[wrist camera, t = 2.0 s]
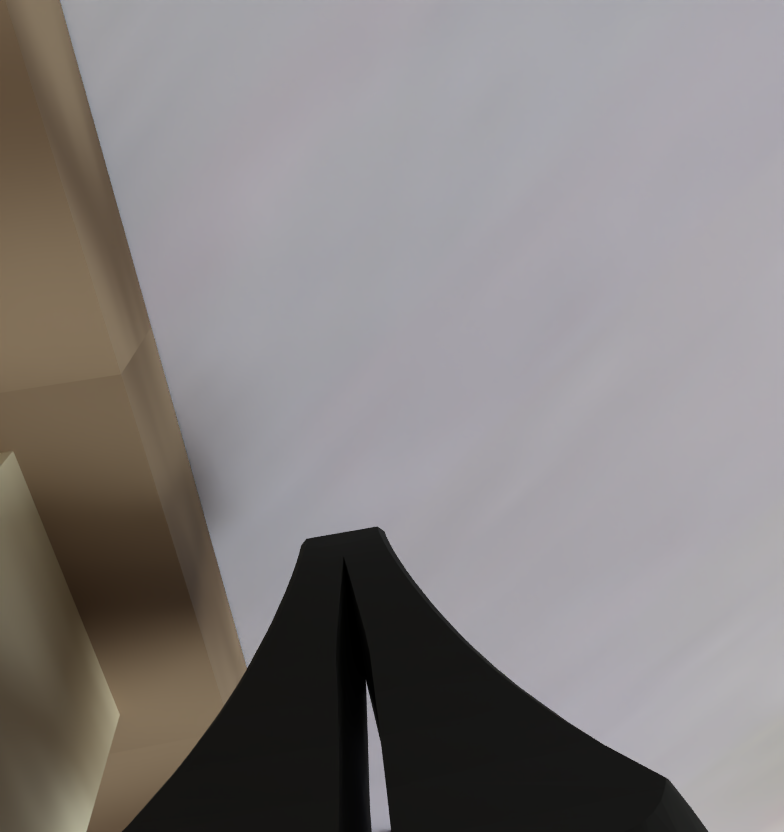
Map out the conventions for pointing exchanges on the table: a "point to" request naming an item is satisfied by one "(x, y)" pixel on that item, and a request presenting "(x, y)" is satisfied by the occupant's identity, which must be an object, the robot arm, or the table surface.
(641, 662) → the table surface
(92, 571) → the trap deck
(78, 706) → the maple block
